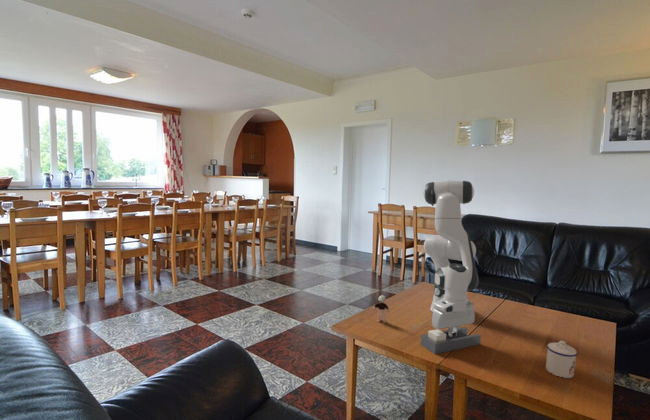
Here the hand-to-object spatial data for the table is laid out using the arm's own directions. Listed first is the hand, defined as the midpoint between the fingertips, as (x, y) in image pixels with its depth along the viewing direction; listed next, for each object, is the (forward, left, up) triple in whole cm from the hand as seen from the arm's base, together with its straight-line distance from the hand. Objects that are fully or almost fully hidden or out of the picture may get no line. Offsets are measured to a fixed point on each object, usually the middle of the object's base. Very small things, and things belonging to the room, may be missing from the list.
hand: (452, 335), depth 151 cm
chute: (+1, 0, -4) cm, 4 cm away
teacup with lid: (-23, +30, -4) cm, 38 cm away
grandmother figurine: (+16, -30, -4) cm, 34 cm away
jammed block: (+9, 0, -2) cm, 9 cm away
